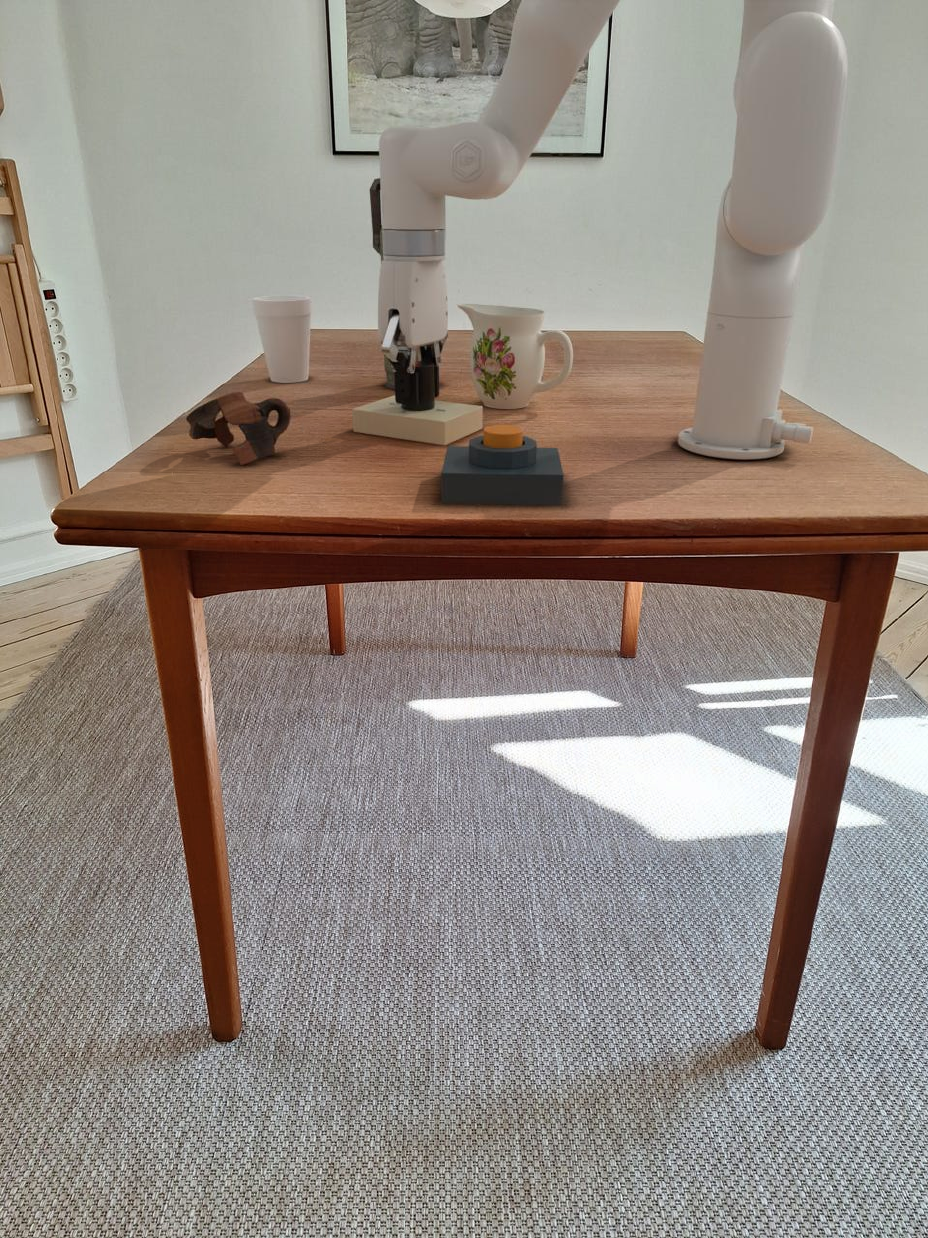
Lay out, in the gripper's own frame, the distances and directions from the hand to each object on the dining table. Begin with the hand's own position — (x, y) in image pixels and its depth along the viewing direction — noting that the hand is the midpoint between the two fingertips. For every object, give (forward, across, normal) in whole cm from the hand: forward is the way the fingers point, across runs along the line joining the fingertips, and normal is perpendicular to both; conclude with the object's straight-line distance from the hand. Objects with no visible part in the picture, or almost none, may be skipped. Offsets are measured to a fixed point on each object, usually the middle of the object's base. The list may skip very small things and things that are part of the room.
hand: (417, 398), depth 106 cm
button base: (+4, +17, +21) cm, 27 cm away
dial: (+1, 0, 0) cm, 1 cm away
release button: (0, +17, +21) cm, 27 cm away
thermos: (+4, -25, -16) cm, 31 cm away
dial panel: (+4, 0, 0) cm, 4 cm away
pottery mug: (+4, +20, -12) cm, 24 cm away
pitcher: (+4, -20, +4) cm, 21 cm away
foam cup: (+4, -20, -38) cm, 43 cm away
